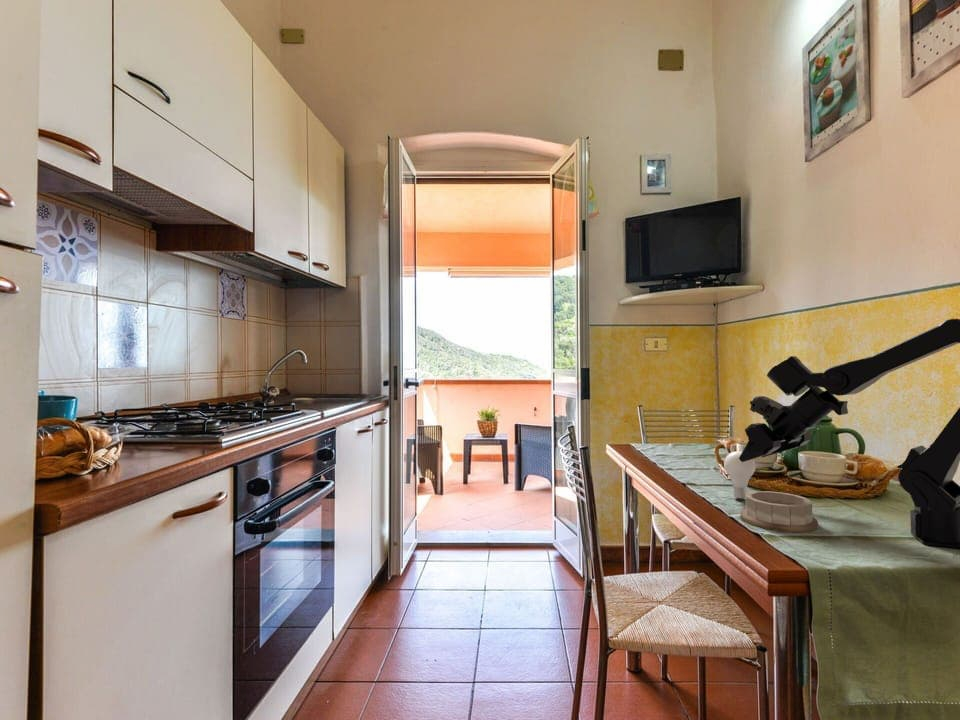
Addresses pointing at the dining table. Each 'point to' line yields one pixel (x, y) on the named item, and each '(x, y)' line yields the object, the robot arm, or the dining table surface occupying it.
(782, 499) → the holder
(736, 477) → the lightbulb
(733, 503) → the dining table surface
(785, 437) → the robot arm
